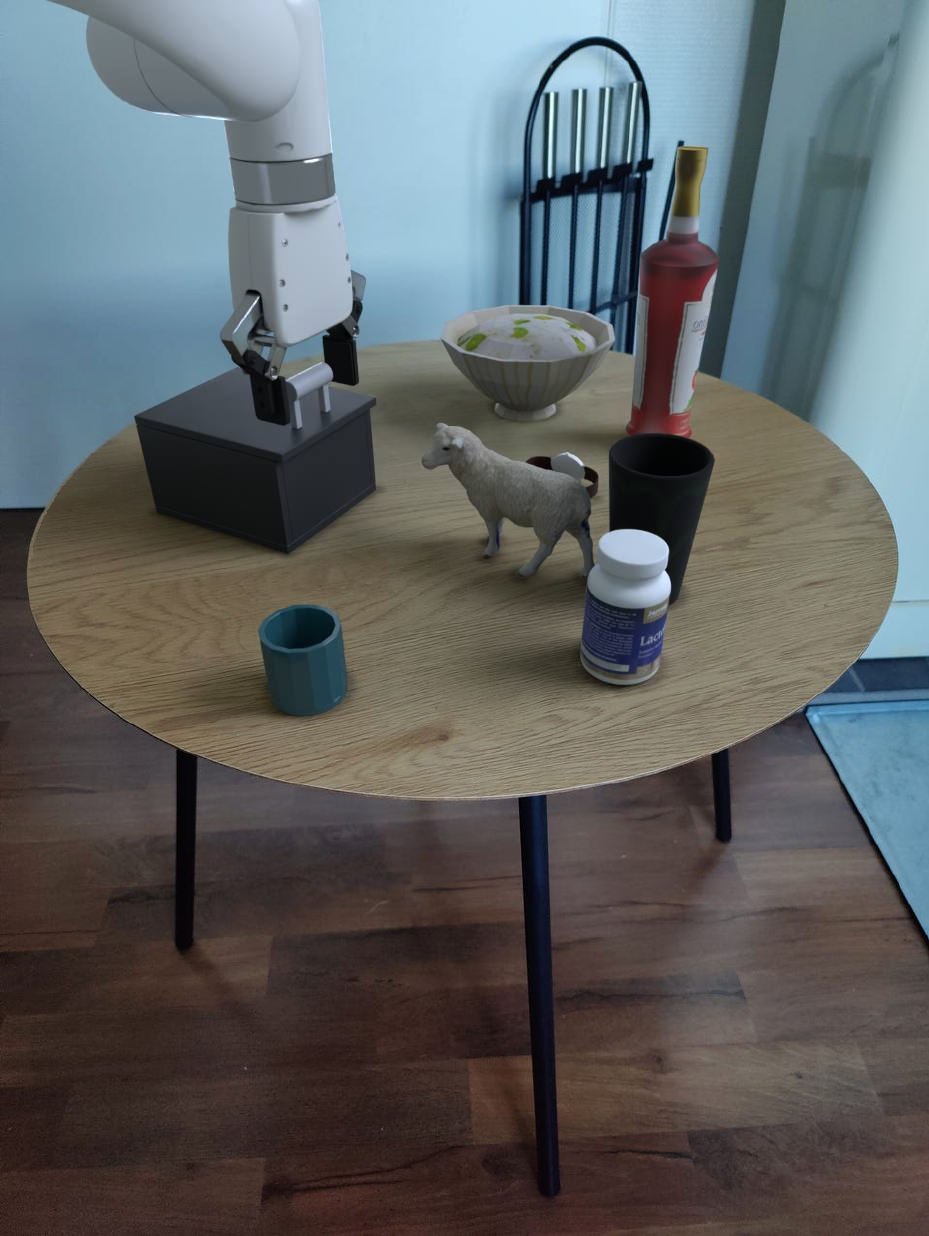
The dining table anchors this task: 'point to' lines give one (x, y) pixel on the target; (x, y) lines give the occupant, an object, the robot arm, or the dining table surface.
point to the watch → (568, 469)
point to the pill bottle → (626, 607)
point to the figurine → (515, 495)
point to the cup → (660, 492)
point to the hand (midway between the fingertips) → (309, 401)
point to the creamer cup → (304, 659)
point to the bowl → (527, 354)
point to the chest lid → (232, 423)
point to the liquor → (673, 309)
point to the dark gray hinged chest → (261, 484)
